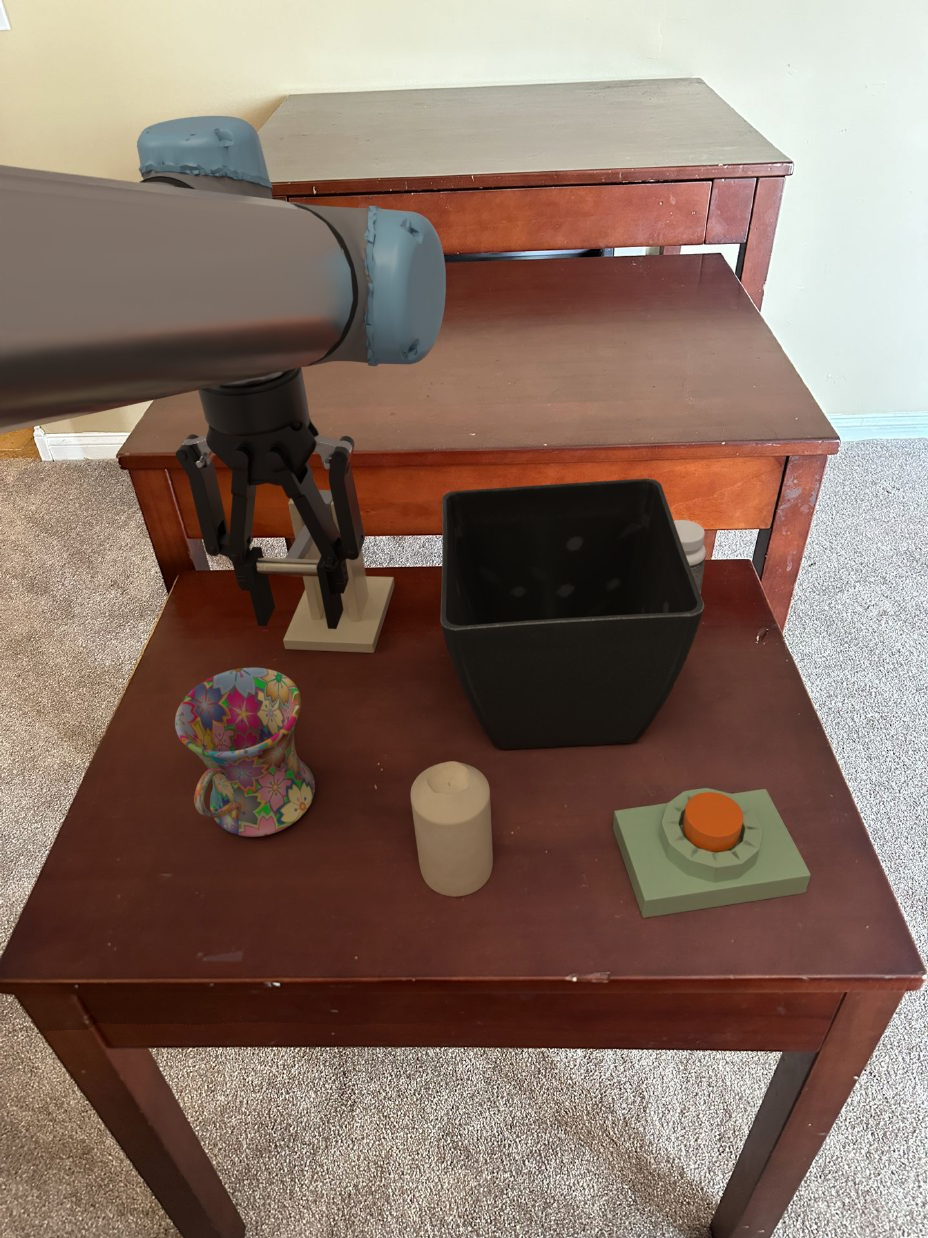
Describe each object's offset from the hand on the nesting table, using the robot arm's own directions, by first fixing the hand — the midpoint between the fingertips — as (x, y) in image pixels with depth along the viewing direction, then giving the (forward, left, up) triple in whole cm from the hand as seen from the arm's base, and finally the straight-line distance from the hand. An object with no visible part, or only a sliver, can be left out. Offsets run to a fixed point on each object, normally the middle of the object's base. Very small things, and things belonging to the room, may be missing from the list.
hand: (301, 617), depth 78 cm
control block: (+29, -25, -8) cm, 39 cm away
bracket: (+3, +10, -8) cm, 14 cm away
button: (+29, -25, -5) cm, 38 cm away
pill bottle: (+37, +6, -9) cm, 38 cm away
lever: (+1, +5, +4) cm, 7 cm away
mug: (-5, -14, -9) cm, 17 cm away
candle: (+10, -22, -9) cm, 26 cm away
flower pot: (+22, -6, -9) cm, 24 cm away
